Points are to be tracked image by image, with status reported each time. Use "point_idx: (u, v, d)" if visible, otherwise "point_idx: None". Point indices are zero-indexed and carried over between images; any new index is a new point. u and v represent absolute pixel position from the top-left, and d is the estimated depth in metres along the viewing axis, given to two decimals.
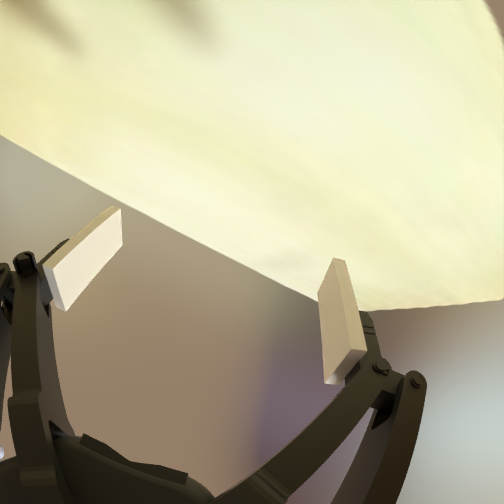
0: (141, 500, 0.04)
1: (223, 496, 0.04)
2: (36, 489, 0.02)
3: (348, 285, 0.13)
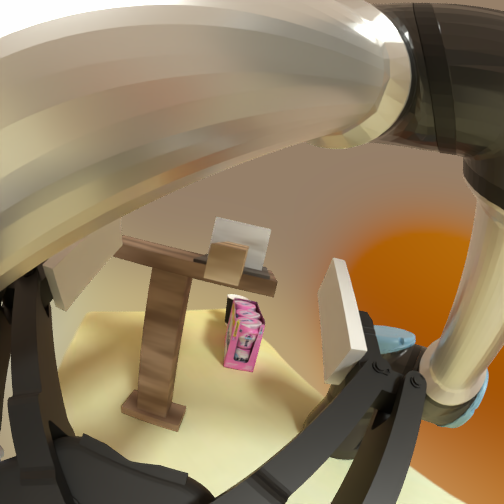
0: (141, 500, 0.04)
1: (223, 496, 0.04)
2: (36, 489, 0.02)
3: (348, 285, 0.13)
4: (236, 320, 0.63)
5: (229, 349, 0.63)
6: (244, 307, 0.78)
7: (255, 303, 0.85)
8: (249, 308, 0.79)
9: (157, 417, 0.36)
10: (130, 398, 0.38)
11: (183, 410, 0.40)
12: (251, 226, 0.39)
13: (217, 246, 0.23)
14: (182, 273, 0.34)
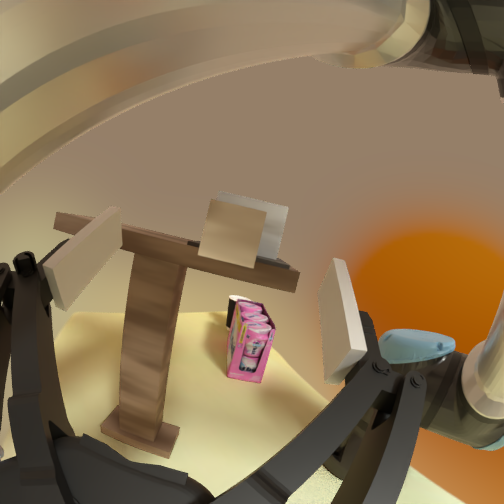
0: (142, 500, 0.04)
1: (223, 496, 0.04)
2: (36, 489, 0.02)
3: (348, 285, 0.13)
4: (243, 324, 0.54)
5: (234, 357, 0.54)
6: (249, 309, 0.70)
7: (260, 304, 0.77)
8: (255, 310, 0.70)
9: (143, 441, 0.27)
10: (112, 416, 0.29)
11: (176, 432, 0.31)
12: (263, 203, 0.30)
13: (221, 204, 0.14)
14: (172, 260, 0.25)
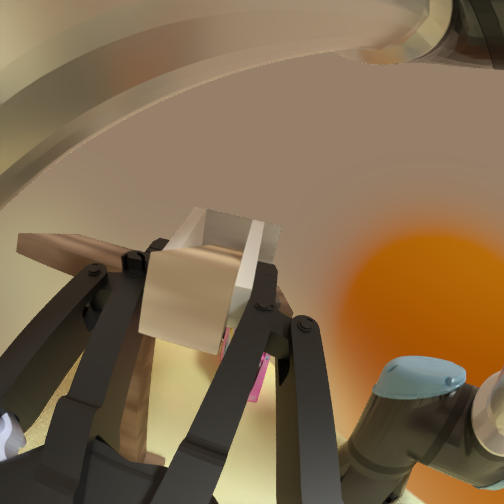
0: (141, 500, 0.04)
1: (167, 472, 0.04)
2: (36, 489, 0.02)
3: (257, 240, 0.15)
4: None
5: None
6: None
7: None
8: None
9: None
10: None
11: (161, 464, 0.26)
12: (250, 221, 0.25)
13: (165, 260, 0.09)
14: None
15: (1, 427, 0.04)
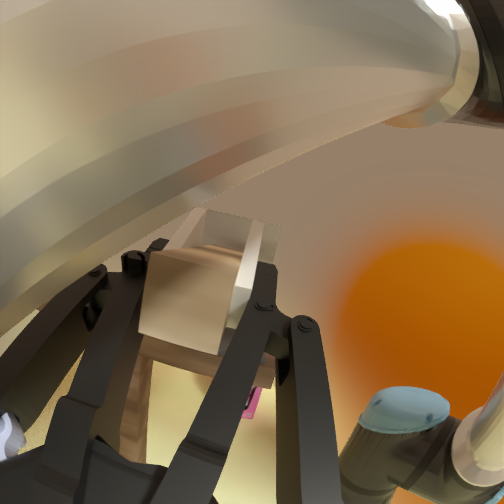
0: (141, 500, 0.04)
1: (167, 472, 0.04)
2: (36, 489, 0.02)
3: (257, 240, 0.15)
4: None
5: None
6: None
7: None
8: None
9: None
10: None
11: None
12: (250, 221, 0.25)
13: (165, 260, 0.09)
14: None
15: (1, 427, 0.04)
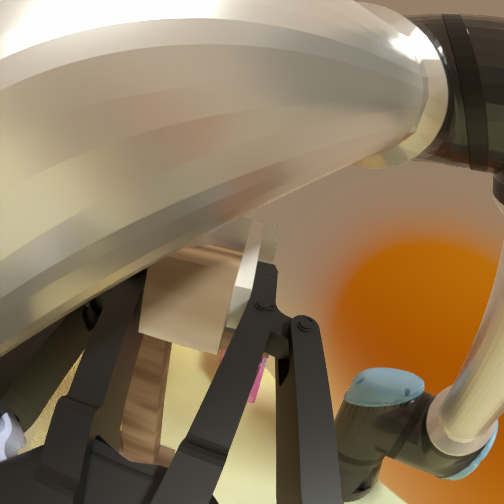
0: (141, 500, 0.04)
1: (167, 472, 0.04)
2: (36, 489, 0.02)
3: (257, 240, 0.15)
4: None
5: None
6: None
7: None
8: None
9: None
10: None
11: (172, 454, 0.33)
12: (250, 221, 0.25)
13: (165, 260, 0.09)
14: None
15: (1, 427, 0.04)
